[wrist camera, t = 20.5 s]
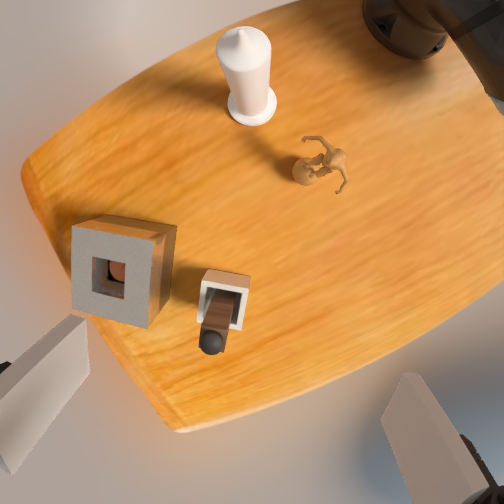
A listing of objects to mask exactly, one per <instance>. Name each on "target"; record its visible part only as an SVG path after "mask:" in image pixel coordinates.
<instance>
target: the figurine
mask: <svg viewBox="0 0 504 504" xmlns="http://www.w3.org/2000/svg"><path fill="white" fill-rule="evenodd" d="M302 139H303V140H304V141H303V140H302ZM302 139H301V140H302V141H303V142H305V140H306V139H309V140H320V142H321V143H322V144H323V146H324V147H325V148H326V149H327V153H326V154H325V155H324V154H322V153H320V154H319V155H318V156H316V157H314V158H312V159H311V158H301V159H299V160H297V161H296V162H295V164H294V165H293V168H292V174H293V177H294V179H295V180H296V182H298V183H299V184H301V185H304V186H309V185H313V184H314V183H316V182H317V181H318V179H319V177H322V176H325V175H326V174H328V173H332V172H333V170H336V169H338V170H340V172H341V174H342V176H343V178H344V180H345V181H344V182H343V184H342V185H341V187H340V190H339V191H335V192H336V194H339V193H341V192H342V190H343V189H344V188H345V186H346V184H347V183H348V182H349V178H348V175H347V172H346V167H345V162H346V160H347V156H346V153H345V152H344V151H343V150H341V149H336V148H334V147H333V146H331V145H330V144H329V143H328V142H327V141H326V140H325V139H324V138H323V137H321V136H304V137H303V138H302ZM320 163H322V165H323V166H324V167H322V168H320V167H319V164H320Z"/></svg>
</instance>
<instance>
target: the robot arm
mask: <svg viewBox="0 0 504 504" xmlns="http://www.w3.org/2000/svg"><path fill="white" fill-rule="evenodd" d="M363 16H364V19H365V22H366V24H367V26H368V28H369V30H370V31H371V33H372V34H373V35H374V36H375V38H376V39H377V40H378V41H379V42H380V43H381V44H383V45H384V46H385V47H386V48H388V49H389V50H391V51H392V52H394V53H396V54H398V55H400V56H403V57H406V58H410V59H417V60H420V59H426V58H429V57H431V56H433V55H434V54H436V53H438V52H439V51H440V50H441V49H442V48H443V46H444V44H445V42H446V40H447V38H448V36H450V37H451V38H452V40H453V41H454V43H455V44H456V45H457V47H458V48H459V49H460V51H461V52H462V54H463V55H464V57H465V58H466V60H467V61H468V62H469V64H470V66H471V67H472V69H473V70H474V72H475V73H476V75H477V76H478V78H479V80H480V81H481V83H482V85H483V86H484V90H485V92H486V94H488V96H489V97H490V98H491V99H492V101H493V103H494V104H495V106H496V108H497V109H498V111H499V112H500V113H501V114H502V115H503V116H504V0H364V3H363ZM89 373H90V367H89V357H88V345H87V331H86V319H85V318H81V317H78V316H75V315H72V314H70V315H69V316H68V317H67V318H65V319H64V320H63V321H62V322H61V323H59V324H58V325H57V326H56V327H55V328H53V329H52V330H51V331H50V332H49V333H47V334H46V335H45V336H44V337H43V338H41V339H40V340H39V341H38V342H37V343H35V344H34V345H33V346H32V347H31V348H30V349H28V350H27V351H26V352H25V353H24V354H23V355H21V356H20V357H19V358H18V359H17V360H16V361H15V362H14V363H9V362H5V363H2V364H0V468H1V469H3V470H4V471H6V472H7V473H9V474H11V475H12V476H13V475H14V474H15V472H16V471H17V470H18V468H19V467H20V465H21V464H22V462H23V461H24V459H25V458H26V457H27V455H28V454H29V453H30V451H31V450H32V448H33V447H34V445H35V444H36V443H37V441H38V440H39V439H40V437H41V436H42V435H43V433H44V432H45V430H46V429H47V428H48V427H49V425H50V424H51V423H52V421H53V420H54V419H55V417H56V416H57V415H58V413H59V412H60V411H61V409H62V408H63V407H64V405H65V404H66V403H67V401H68V400H69V399H70V397H71V396H72V395H73V394H74V392H75V391H76V390H77V389H78V387H79V386H80V385H81V383H82V382H83V381H84V380H85V378H86V377H87V376H88V374H89ZM380 421H381V424H382V426H383V429H384V431H385V434H386V436H387V438H388V441H389V443H390V445H391V448H392V451H393V453H394V456H395V458H396V461H397V463H398V466H399V469H400V471H401V474H402V476H403V479H404V481H405V484H406V487H407V489H408V492H409V495H410V497H411V500H412V503H413V504H504V486H498V485H497V483H496V482H495V480H494V478H493V477H492V475H491V473H490V472H489V470H488V468H487V467H486V465H485V463H484V462H483V460H481V457H480V455H479V454H478V453H477V450H476V449H475V447H474V446H473V444H472V443H471V441H469V440H468V439H467V438H466V437H465V436H464V435H462V434H461V435H459V434H458V432H457V431H456V429H455V428H454V426H453V425H452V423H451V422H450V420H449V419H448V417H447V415H446V414H445V412H444V411H443V409H442V408H441V406H440V405H439V403H438V402H437V400H436V399H435V397H434V396H433V394H432V393H431V391H430V390H429V388H428V387H427V385H426V384H425V382H424V381H423V380H422V378H421V377H420V375H419V374H418V373H404V374H403V376H402V378H401V380H400V382H399V384H398V386H397V388H396V390H395V393H394V394H393V396H392V398H391V400H390V402H389V404H388V406H387V408H386V410H385V412H384V414H383V416H382V418H381V420H380Z"/></svg>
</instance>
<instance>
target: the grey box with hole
mask: <svg viewBox="0 0 504 504" xmlns="http://www.w3.org/2000/svg"><path fill="white" fill-rule="evenodd" d="M176 232H177V226H173V225H167V224H161V223H156V222H150V221H144V220H138V219H132V218H126V217H120V216H114V215H105V216H102V217H98V218H95V219H92V220H89V221H85V222H82V223H79V224H76V225H73V226H72V240H71V290H72V308H73V309H76V310H79V311H83V312H86V313H89V314H93V315H96V316H100V317H103V318H107V319H110V320H114V321H118V322H122V323H125V324H129V325H133V326H137V327H141V328H145V329H148V328H149V326H150V325H151V323H152V322H153V321H154V319H155V318H156V316H157V315H158V314H159V312H160V311H161V309H162V308H163V307H164V305H165V304H166V302H167V301H168V300H169V296H170V285H171V275H172V266H173V257H174V248H175V240H176ZM111 260H112V261H116V262H121V263H126V265H125V282H122V281H119V280H117V279H115V278H114V277H113V275H112V274H111V272H110V267H109V265H110V261H111Z"/></svg>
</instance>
